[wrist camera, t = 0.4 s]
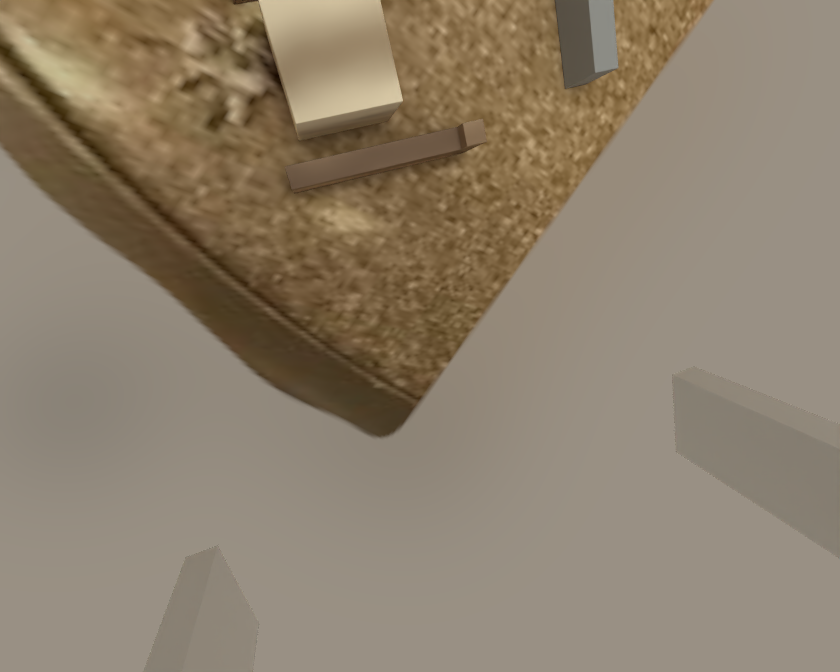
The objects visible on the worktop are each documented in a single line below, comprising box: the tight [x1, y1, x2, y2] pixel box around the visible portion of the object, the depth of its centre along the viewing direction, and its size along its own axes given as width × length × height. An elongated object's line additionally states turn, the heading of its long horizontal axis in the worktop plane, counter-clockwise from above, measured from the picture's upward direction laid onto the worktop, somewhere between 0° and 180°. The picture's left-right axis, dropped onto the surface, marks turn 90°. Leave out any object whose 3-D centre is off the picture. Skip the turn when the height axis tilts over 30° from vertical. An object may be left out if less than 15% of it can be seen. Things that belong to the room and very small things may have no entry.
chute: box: [233, 0, 487, 193], centre depth 29 cm, size 14×14×5 cm
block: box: [258, 0, 403, 141], centre depth 28 cm, size 7×7×6 cm
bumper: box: [555, 0, 618, 89], centre depth 32 cm, size 8×2×4 cm, turn 14°
